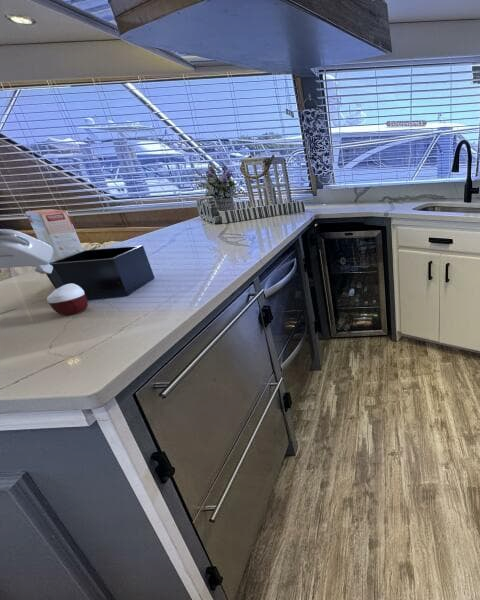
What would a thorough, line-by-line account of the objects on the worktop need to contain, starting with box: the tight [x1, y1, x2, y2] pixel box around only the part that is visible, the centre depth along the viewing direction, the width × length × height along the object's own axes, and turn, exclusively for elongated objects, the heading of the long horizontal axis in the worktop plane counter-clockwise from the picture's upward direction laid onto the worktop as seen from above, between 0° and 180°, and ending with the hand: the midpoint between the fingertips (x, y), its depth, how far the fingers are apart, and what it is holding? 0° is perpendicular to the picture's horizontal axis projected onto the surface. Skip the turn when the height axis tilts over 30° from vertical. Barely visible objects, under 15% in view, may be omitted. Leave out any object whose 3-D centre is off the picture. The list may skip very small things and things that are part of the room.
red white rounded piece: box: [45, 263, 89, 316], centre depth 73 cm, size 10×6×12 cm, turn 35°
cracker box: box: [25, 208, 85, 262], centre depth 92 cm, size 14×6×21 cm, turn 58°
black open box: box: [50, 245, 156, 301], centre depth 87 cm, size 15×15×10 cm
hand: (22, 272), depth 65 cm, fingers open, 8 cm apart
